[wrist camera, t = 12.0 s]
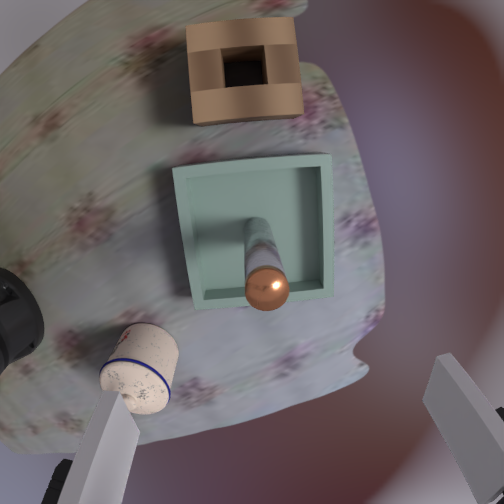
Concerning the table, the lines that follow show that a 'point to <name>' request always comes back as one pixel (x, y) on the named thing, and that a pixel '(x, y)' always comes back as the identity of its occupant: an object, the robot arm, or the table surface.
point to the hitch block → (240, 50)
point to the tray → (256, 205)
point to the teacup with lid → (142, 368)
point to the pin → (263, 267)
